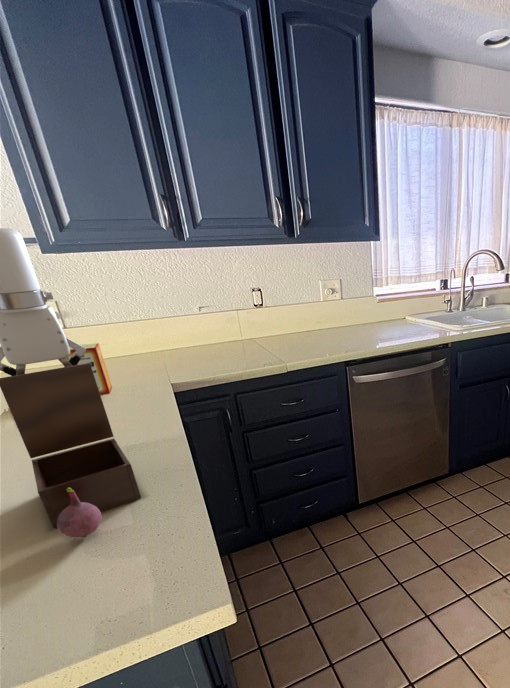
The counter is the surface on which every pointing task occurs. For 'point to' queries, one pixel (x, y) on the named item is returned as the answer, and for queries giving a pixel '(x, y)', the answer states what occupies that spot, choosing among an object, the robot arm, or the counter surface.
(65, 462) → the chest
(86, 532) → the vegetable
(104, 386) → the baking soda box
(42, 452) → the lid
